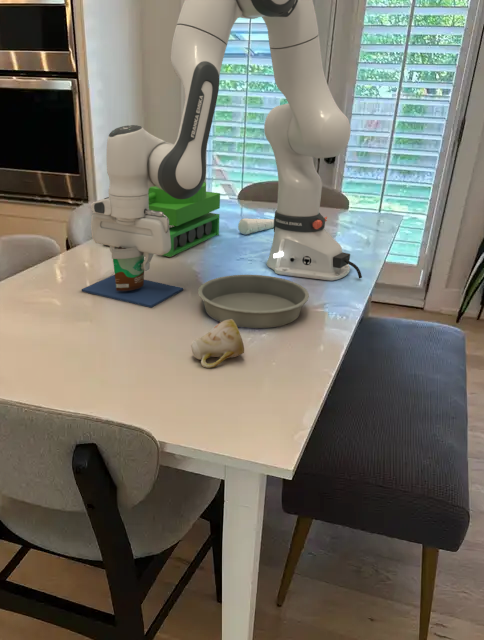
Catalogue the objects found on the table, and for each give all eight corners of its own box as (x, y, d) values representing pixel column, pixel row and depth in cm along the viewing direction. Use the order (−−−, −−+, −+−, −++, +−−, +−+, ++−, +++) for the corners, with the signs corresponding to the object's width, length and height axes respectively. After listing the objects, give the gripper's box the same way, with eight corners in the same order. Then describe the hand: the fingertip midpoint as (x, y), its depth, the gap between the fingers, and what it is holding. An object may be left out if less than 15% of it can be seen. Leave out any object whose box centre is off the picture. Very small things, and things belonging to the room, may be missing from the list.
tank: (89, 249, 174) (84, 190, 165) (154, 224, 200) (153, 171, 191) (161, 263, 164) (159, 201, 156) (219, 235, 191) (221, 180, 182)
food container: (139, 294, 139) (137, 251, 134) (114, 292, 140) (110, 249, 135) (154, 278, 149) (153, 237, 144) (131, 276, 150) (128, 235, 145)
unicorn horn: (298, 225, 203) (299, 210, 201) (247, 236, 190) (247, 220, 188) (288, 222, 206) (289, 207, 204) (236, 233, 193) (237, 217, 191)
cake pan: (310, 296, 145) (312, 278, 142) (302, 337, 124) (305, 316, 122) (210, 287, 149) (210, 269, 146) (186, 325, 128) (186, 305, 126)
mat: (183, 290, 147) (183, 287, 146) (151, 307, 136) (151, 305, 136) (116, 275, 155) (116, 273, 154) (81, 291, 144) (81, 289, 144)
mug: (182, 353, 117) (204, 306, 115) (226, 372, 120) (248, 326, 118) (189, 361, 110) (212, 310, 108) (236, 381, 113) (259, 332, 111)
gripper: (176, 209, 133) (176, 271, 141) (101, 198, 141) (105, 257, 149) (160, 215, 128) (161, 278, 136) (84, 203, 137) (89, 263, 144)
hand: (132, 267), depth 142 cm, fingers closed on food container, 6 cm apart
